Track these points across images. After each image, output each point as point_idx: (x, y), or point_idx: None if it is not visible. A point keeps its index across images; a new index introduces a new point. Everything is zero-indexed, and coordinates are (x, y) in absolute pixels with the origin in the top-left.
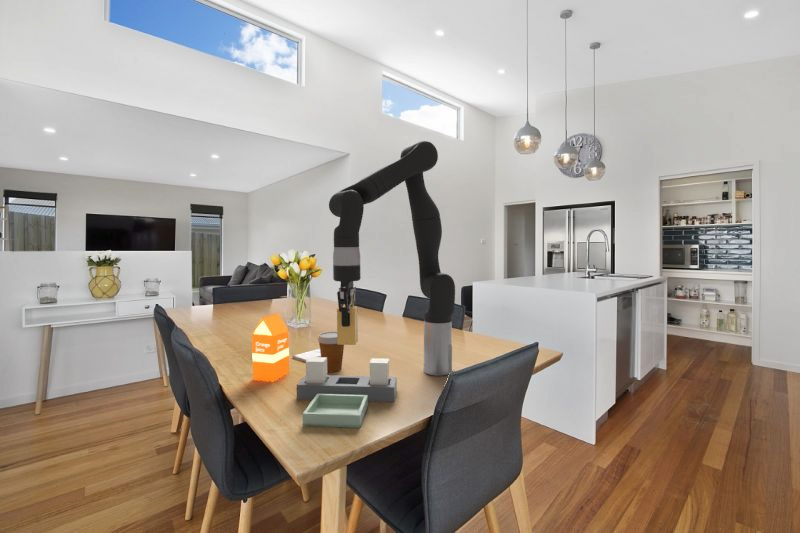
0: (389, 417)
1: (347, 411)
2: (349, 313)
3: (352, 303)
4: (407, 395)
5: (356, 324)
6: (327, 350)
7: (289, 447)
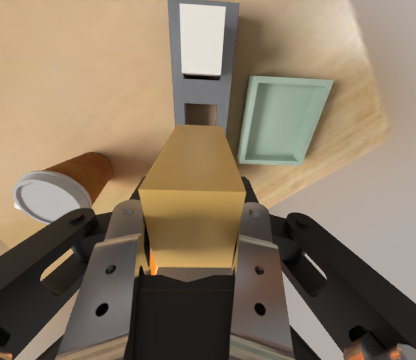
0: (299, 23)
1: (272, 109)
2: (246, 201)
3: (141, 234)
4: None
5: (194, 145)
6: (96, 191)
7: (337, 159)
